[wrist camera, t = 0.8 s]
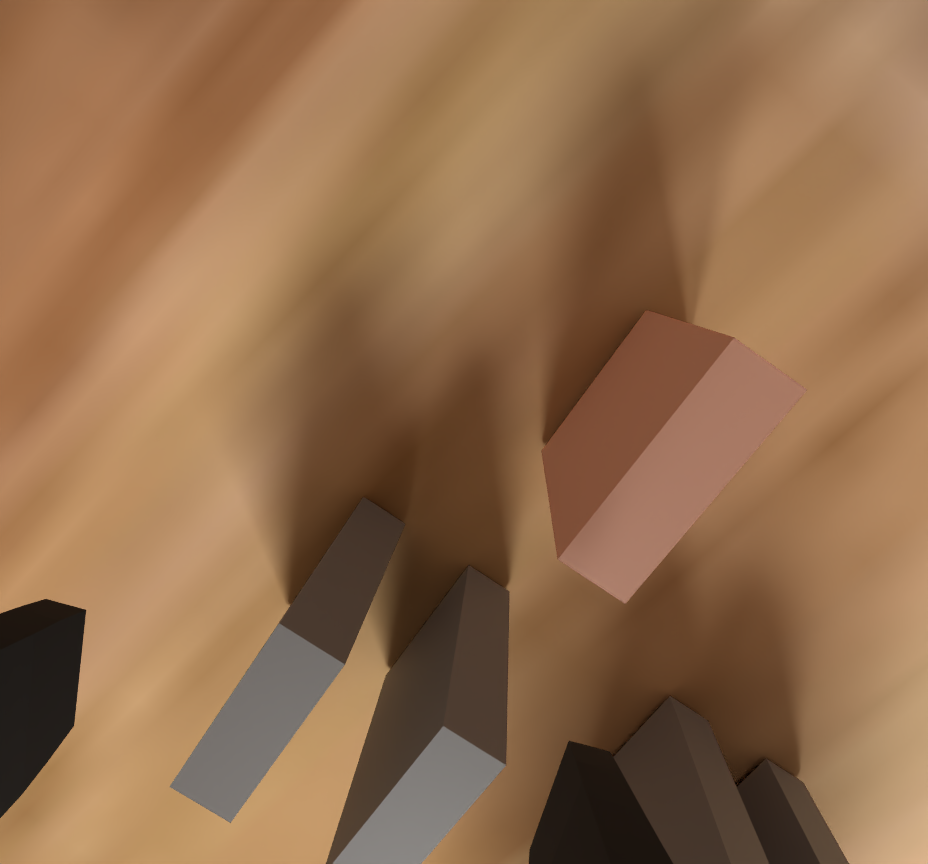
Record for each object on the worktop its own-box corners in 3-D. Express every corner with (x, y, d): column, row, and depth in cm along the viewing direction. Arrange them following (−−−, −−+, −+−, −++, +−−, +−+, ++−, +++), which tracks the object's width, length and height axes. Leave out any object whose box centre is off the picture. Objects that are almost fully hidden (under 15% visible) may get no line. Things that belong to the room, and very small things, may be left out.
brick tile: (691, 341, 17) (807, 389, 10) (584, 479, 18) (625, 603, 11) (646, 309, 17) (733, 338, 10) (541, 450, 18) (557, 559, 11)
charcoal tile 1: (405, 523, 19) (344, 664, 12) (325, 637, 20) (230, 822, 13) (363, 496, 19) (279, 623, 12) (285, 612, 20) (169, 786, 13)
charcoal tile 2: (509, 591, 19) (505, 765, 13) (424, 699, 21) (379, 911, 14) (468, 565, 19) (443, 725, 12) (386, 675, 20) (321, 876, 14)
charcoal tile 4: (708, 720, 20) (807, 953, 13) (614, 818, 21) (661, 1077, 14) (669, 695, 20) (750, 917, 13) (577, 795, 21) (607, 1046, 14)
